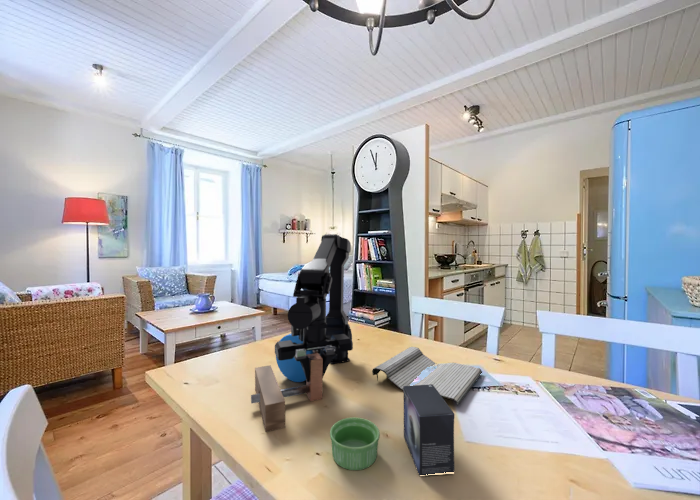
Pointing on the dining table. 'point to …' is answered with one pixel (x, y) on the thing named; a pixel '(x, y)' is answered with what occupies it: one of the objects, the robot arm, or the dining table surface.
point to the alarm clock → (293, 362)
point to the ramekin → (354, 443)
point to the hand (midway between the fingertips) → (314, 380)
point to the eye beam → (270, 398)
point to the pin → (311, 387)
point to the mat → (445, 378)
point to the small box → (428, 429)
